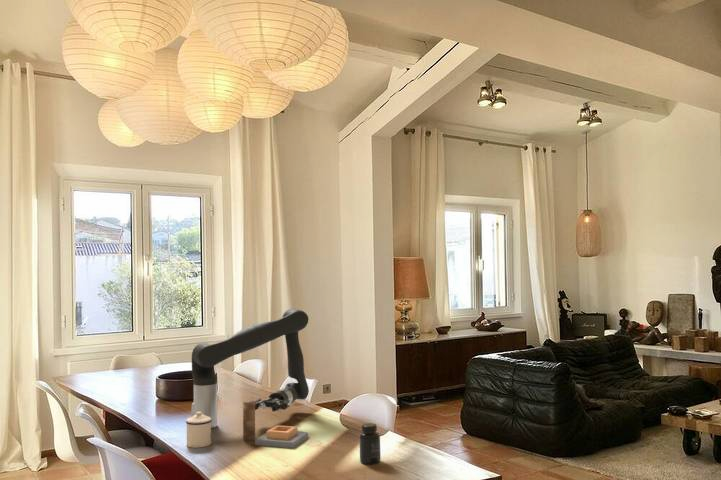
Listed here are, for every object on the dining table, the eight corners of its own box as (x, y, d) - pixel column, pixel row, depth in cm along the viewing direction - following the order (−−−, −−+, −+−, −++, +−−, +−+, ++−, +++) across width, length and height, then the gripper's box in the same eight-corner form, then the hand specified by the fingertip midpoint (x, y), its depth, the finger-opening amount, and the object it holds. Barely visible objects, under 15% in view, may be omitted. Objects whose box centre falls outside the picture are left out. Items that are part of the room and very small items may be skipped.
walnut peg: (241, 440, 228) (240, 402, 229) (246, 437, 233) (246, 399, 233) (251, 441, 227) (251, 403, 228) (257, 438, 231) (257, 400, 232)
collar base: (255, 445, 223) (254, 432, 223) (272, 434, 236) (271, 422, 236) (293, 448, 218) (293, 435, 218) (308, 437, 231) (308, 425, 232)
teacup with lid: (216, 444, 224) (216, 411, 225) (194, 449, 218) (194, 416, 218) (198, 438, 233) (198, 406, 233) (177, 443, 226) (177, 411, 227)
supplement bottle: (379, 458, 206) (379, 421, 206) (381, 464, 199) (380, 427, 199) (359, 458, 205) (358, 422, 206) (360, 465, 199) (359, 427, 199)
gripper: (265, 389, 259) (246, 397, 243) (296, 390, 254) (279, 399, 239) (265, 407, 258) (246, 417, 243) (296, 409, 254) (279, 419, 239)
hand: (263, 408), depth 241 cm, fingers open, 8 cm apart
